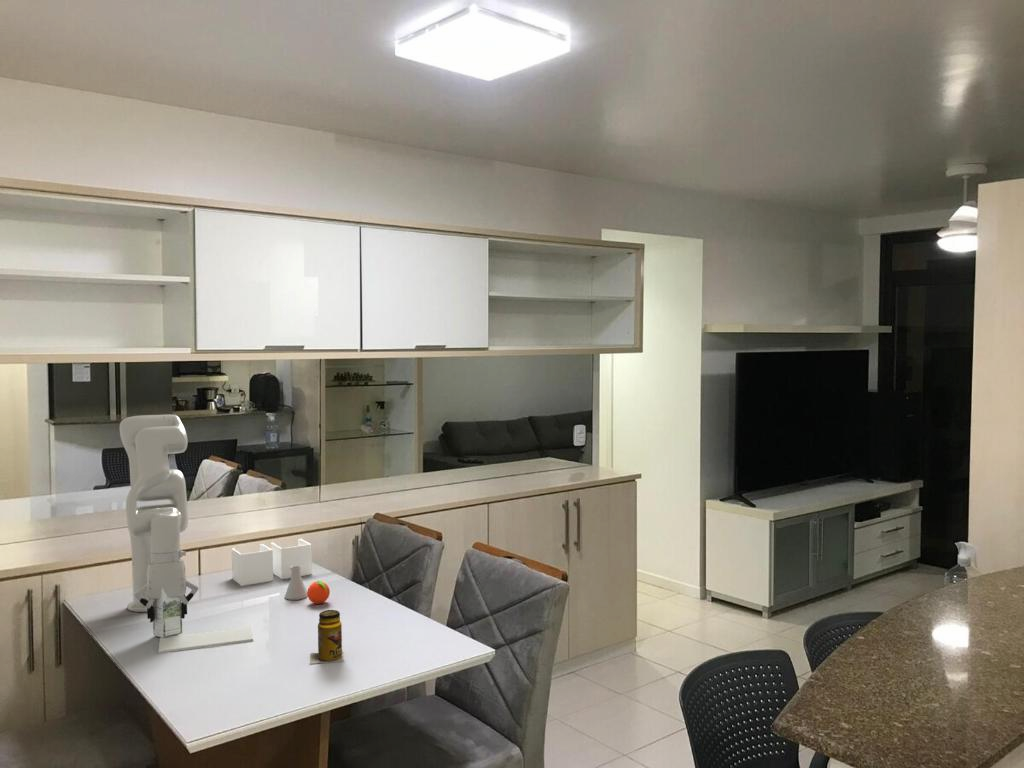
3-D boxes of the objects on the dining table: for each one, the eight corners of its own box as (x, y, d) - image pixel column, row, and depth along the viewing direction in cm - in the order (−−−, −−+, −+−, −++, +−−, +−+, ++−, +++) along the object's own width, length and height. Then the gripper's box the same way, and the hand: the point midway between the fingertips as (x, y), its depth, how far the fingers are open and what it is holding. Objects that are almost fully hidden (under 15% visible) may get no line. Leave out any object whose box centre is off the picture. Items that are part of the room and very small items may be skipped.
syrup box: (172, 631, 240) (170, 580, 241) (183, 633, 236) (181, 581, 237) (153, 635, 236) (151, 583, 236) (163, 638, 232) (161, 585, 233)
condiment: (343, 661, 216) (343, 615, 215) (309, 664, 214) (309, 618, 213) (343, 651, 223) (342, 607, 222) (310, 654, 221) (309, 609, 220)
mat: (160, 639, 233) (160, 637, 233) (250, 628, 242) (250, 626, 242) (158, 653, 223) (158, 650, 223) (253, 641, 231) (253, 638, 231)
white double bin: (241, 586, 286) (240, 554, 285) (232, 579, 295) (231, 548, 294) (312, 574, 300) (311, 544, 299) (301, 568, 309) (300, 538, 308)
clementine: (336, 603, 265) (335, 581, 264) (317, 608, 260) (317, 586, 259) (321, 598, 270) (321, 576, 270) (303, 603, 265) (302, 581, 265)
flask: (280, 599, 270) (279, 568, 270) (294, 593, 277) (293, 563, 276) (298, 601, 267) (298, 570, 267) (312, 595, 274) (311, 565, 274)
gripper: (198, 551, 242) (200, 611, 242) (132, 556, 236) (134, 619, 236) (199, 556, 235) (200, 619, 235) (131, 563, 229) (132, 627, 229)
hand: (167, 618), depth 236 cm, fingers closed on syrup box, 7 cm apart
